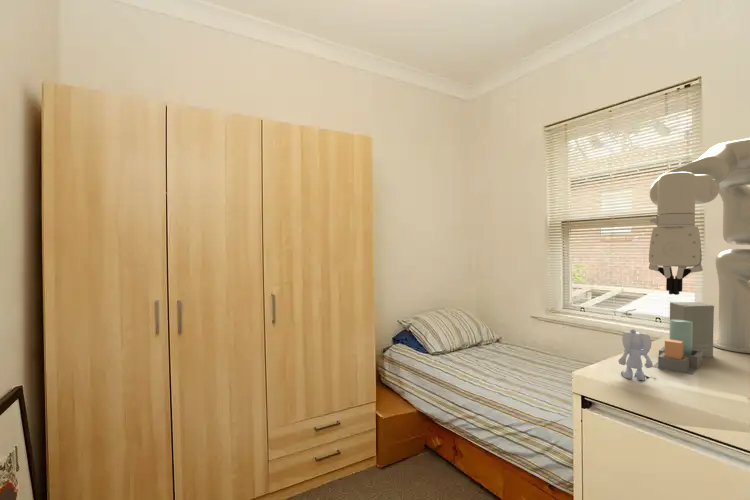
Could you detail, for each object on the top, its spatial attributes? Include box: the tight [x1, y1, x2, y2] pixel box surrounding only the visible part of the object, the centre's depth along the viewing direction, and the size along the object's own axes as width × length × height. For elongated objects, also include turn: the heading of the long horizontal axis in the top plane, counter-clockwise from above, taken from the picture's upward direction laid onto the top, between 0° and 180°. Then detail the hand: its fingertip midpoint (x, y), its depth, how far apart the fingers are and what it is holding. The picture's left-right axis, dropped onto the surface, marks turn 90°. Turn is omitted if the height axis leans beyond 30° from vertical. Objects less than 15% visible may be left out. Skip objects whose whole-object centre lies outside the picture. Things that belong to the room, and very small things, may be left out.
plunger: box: [664, 338, 683, 360], centre depth 96 cm, size 3×3×5 cm
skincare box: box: [669, 301, 715, 358], centre depth 111 cm, size 8×7×16 cm
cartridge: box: [669, 319, 693, 355], centre depth 102 cm, size 5×5×11 cm
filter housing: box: [651, 345, 703, 376], centre depth 100 cm, size 15×8×4 cm, turn 132°
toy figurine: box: [617, 328, 654, 382], centre depth 92 cm, size 7×6×12 cm
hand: (674, 294), depth 96 cm, fingers closed
